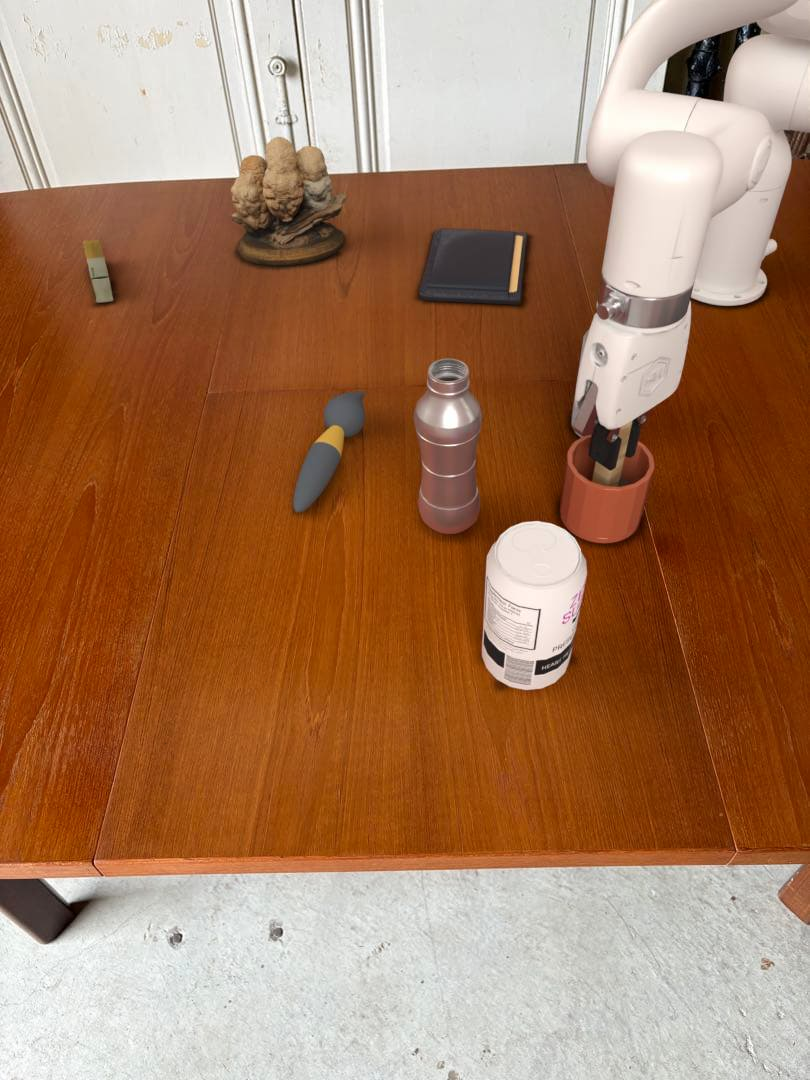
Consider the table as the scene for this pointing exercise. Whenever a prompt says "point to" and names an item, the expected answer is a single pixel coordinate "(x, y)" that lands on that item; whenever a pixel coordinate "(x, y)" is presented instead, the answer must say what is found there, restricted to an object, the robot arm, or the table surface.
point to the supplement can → (532, 604)
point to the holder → (604, 495)
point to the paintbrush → (328, 447)
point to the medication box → (98, 271)
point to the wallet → (475, 266)
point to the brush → (614, 476)
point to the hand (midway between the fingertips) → (611, 455)
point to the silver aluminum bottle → (448, 448)
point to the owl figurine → (286, 206)
